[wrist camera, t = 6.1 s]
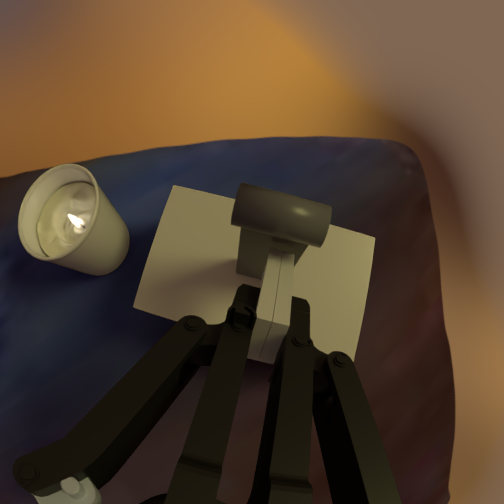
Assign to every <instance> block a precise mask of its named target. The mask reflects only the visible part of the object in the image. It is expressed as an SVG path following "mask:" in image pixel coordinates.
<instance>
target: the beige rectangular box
mask: <svg viewBox="0 0 504 504" xmlns="http://www.w3.org/2000/svg"><path fill="white" fill-rule="evenodd" d="M234 202H235V199H231V198H227V197H223V196H219V195H215V194H211V193H206V192H202V191H198V190H193V189H189V188H185V187H180V186H176V185H173V188H172V191H171V193H170V196H169V199H168V201H167V204H166V207H165V209H164V212H163V215H162V218H161V220H160V223H159V226H158V229H157V232H156V235H155V238H154V240H153V243H152V246H151V249H150V252H149V256H148V259H147V262H146V265H145V268H144V271H143V274H142V278H141V281H140V284H139V288H138V291H137V294H136V298H135V301H134V305H133V308H136V309H139V310H142V311H145V312H149V313H152V314H155V315H158V316H161V317H164V318H167V319H171V320H174V321H178V320H179V319H181V318H182V317H184V316H187V315H195V316H198V317H201V318H202V319H204V320H205V322H206V323H207V324H220V323H222V322H224V321H225V320H226V315H227V311H228V308H229V307H230V306H232V303H233V300H234V297H235V294H236V291H237V288H238V287H239V286H240V285H242V284H247V285H251V286H254V287H258V288H259V287H260V282H261V280H260V279H256V278H252V277H249V276H245V275H241V274H237V273H236V267H237V257H238V248H239V239H240V230H241V227H238V226H234V225H231V216H232V211H233V206H234ZM374 243H375V238H374V237H371V236H368V235H364V234H361V233H358V232H354V231H351V230H347V229H344V228H340V227H337V226H333V225H329V229H328V232H327V235H326V238H325V241H324V243H323V245H322V246H321V247H320V248H318V247H314V246H310V245H308V247H307V248H306V250H305V251H304V253H303V254H302V256H301V258H300V259H299V261H298V262H297V264H296V265H295V267H294V272H293V287H292V296H295V297H299V298H303V299H306V300H307V301H308V303H309V305H310V338H311V339H312V341H313V344H314V346H315V347H316V348H317V349H318V350H320V351H322V352H324V353H326V354H329V353H331V352H332V351H341V352H343V353H345V354H347V355H348V356H349V357H350V358H351V359H352V361H354V356H355V352H356V348H357V343H358V338H359V334H360V329H361V324H362V319H363V314H364V308H365V303H366V297H367V291H368V285H369V279H370V273H371V266H372V259H373V251H374Z"/></svg>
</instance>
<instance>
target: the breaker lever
mask: <svg viewBox="0 0 504 504" xmlns="http://www.w3.org/2000/svg"><path fill="white" fill-rule="evenodd" d="M331 211H332V210H331V206H328V205H325V204H321V203H318V202H314V201H311V200H307V199H304V198H300V197H296V196H293V195H289V194H285V193H281V192H277V191H274V190H270V189H266V188H262V187H258V186H254V185H250V184H246V183H241V184H240V186H239V189H238V192H237V195H236V199H235V202H234V206H233V211H232V216H231V225H234V226H238V227H241V230H240V239H239V248H238V257H237V267H236V273H237V274H241V275H245V276H249V277H252V278H256V279H260V280H261V279H262V276H263V272H264V269H265V265H266V262H267V258H268V255H269V251H270V248H273V249H277V250H280V251H282V252H283V251H284V252H288V253H291V254H295V257H294V267H295V265H296V264H297V262H298V261H299V259H300V258H301V256H302V254H303V253H304V251H305V250H306V248H307V247H308V245H310V246H314V247H318V248H320V247H321V246H322V245H323V243H324V241H325V238H326V235H327V232H328V229H329V225H330V220H331Z"/></svg>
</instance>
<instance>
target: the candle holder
mask: <svg viewBox="0 0 504 504" xmlns="http://www.w3.org/2000/svg"><path fill="white" fill-rule="evenodd" d="M18 232H19V237H20V240H21V243H22V245H23V247H24V248H25V250H26V251H27V252H28V253H29V254H30V255H32V256H33V257H35V258H37V259H39V260H43V261H48V262H51V263H54V264H57V265H60V266H63V267H66V268H69V269H72V270H76V271H79V272H82V273H86V274H89V275H94V276H101V275H106V274H109V273H111V272H112V271H114V270H115V269H117V268H118V267H119V266H120V265H121V263H122V262H123V261H124V259H125V257H126V255H127V253H128V250H129V244H130V236H129V231H128V228H127V226H126V224H125V222H124V221H123V219H122V218H121V216H120V215H119V214H118V212H117V211H116V209H115V208H114V207H113V205H112V204H111V202H110V201H109V200H108V198H107V197H106V195H105V194H104V193H103V191H102V190H101V188H100V187H99V185H98V184H97V182H96V180H95V178H94V177H93V175H92V174H91V173H90V172H89V171H88V170H87V169H86V168H84V167H82V166H80V165H77V164H62V165H59V166H56V167H53V168H51V169H50V170H48V171H46V172H45V173H44V174H42V175H41V176H40V177H39V178H38V179H37V180H36V181H35V182H34V183H33V184H32V186H31V187H30V188H29V190H28V192H27V193H26V195H25V197H24V199H23V202H22V204H21V207H20V211H19V217H18Z"/></svg>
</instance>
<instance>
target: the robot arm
mask: <svg viewBox="0 0 504 504" xmlns="http://www.w3.org/2000/svg"><path fill="white" fill-rule="evenodd" d="M294 257H295V254H291V253H288V252H284V251H283V252H282V251H280V250H277V249H273V248H270V251H269V255H268V258H267V262H266V265H265V269H264V272H263V276H262V279H261V282H260V287H259V288H258V287H254V286H251V285H247V284H242V285H240V286H239V287H238V288H237V291H236V294H235V297H234V300H233V303H232V306H230V307H229V308H228V311H227V315H226V320H225V321H224V322H222V323H220V324H207V323H206V322H205V320H204V319H202V318H201V317H198V316H195V315H187V316H184V317H182V318H181V319H179V320H178V321H177V322H176V323H175V325H174V326H173V327H172V328H171V329H170V330H169V331H168V332H167V333H166V334H165V335H164V336H163V337H162V338H161V339H160V340H159V341H158V342H157V343H156V344H155V345H154V346H153V347H152V348H151V349H150V350H149V351H148V352H147V353H146V354H145V355H144V356H143V357H142V358H141V359H140V360H139V361H138V362H137V363H136V364H135V365H134V366H133V367H132V368H131V369H130V371H129V372H128V373H127V374H126V375H125V376H124V377H123V378H122V379H121V380H120V381H119V382H118V383H117V384H116V385H115V386H114V387H113V388H112V389H111V390H110V391H109V392H108V393H107V394H106V395H105V396H104V397H103V398H102V399H101V400H100V401H99V402H98V403H97V404H96V405H95V406H94V407H93V409H92V410H91V411H90V412H89V413H88V414H87V415H86V416H85V417H84V418H83V419H82V420H81V421H80V422H79V423H78V424H77V425H76V426H75V427H74V428H73V429H72V430H71V431H70V432H69V433H68V434H67V435H66V436H65V437H64V438H63V439H61V440H59V441H56V442H54V443H52V444H49V445H47V446H45V447H43V448H40V449H38V450H36V451H33V452H31V453H28V454H26V455H23V456H21V457H20V458H18V459H17V460H16V461H15V463H14V465H13V475H14V478H15V480H16V481H17V483H18V484H19V485H20V486H21V487H22V488H24V489H25V490H27V491H28V492H30V493H31V494H32V495H34V497H35V498H36V500H37V501H38V503H39V504H101V495H100V493H99V491H98V490H99V489H100V488H101V487H103V486H104V485H105V484H106V483H108V482H109V481H110V480H111V479H112V478H113V477H114V475H115V474H116V473H117V472H118V471H119V470H120V468H121V467H122V466H123V465H124V463H125V462H126V461H127V460H128V459H129V457H130V456H131V455H132V454H133V452H134V451H135V450H136V449H137V447H138V446H139V445H140V444H141V442H142V441H143V440H144V439H145V437H146V436H147V435H148V434H149V432H150V431H151V430H152V429H153V427H154V426H155V425H156V423H157V422H158V421H159V420H160V418H161V417H162V416H163V415H164V413H165V412H166V411H167V409H168V408H169V407H170V406H171V404H172V403H173V402H174V400H175V399H176V398H177V397H178V395H179V394H180V393H181V391H182V390H183V389H184V387H185V386H186V385H187V384H188V382H189V381H190V380H191V378H192V377H193V376H194V374H195V373H196V372H197V370H198V369H199V368H200V366H210V369H209V372H208V375H207V378H206V381H205V384H204V387H203V390H202V393H201V396H200V399H199V402H198V406H197V409H196V412H195V415H194V418H193V421H192V424H191V427H190V430H189V433H188V436H187V439H186V442H185V445H184V448H183V451H182V454H181V457H180V458H179V460H178V463H177V466H176V468H175V471H174V475H173V478H172V481H171V484H170V487H169V490H168V493H166V494H161V495H157V496H154V497H151V498H149V499H147V500H145V501H144V502H142V503H140V504H225V503H223V502H221V501H219V500H217V499H216V495H217V490H218V486H219V482H220V478H221V473H222V464H223V460H224V456H225V452H226V447H227V443H228V439H229V435H230V430H231V426H232V422H233V417H234V413H235V409H236V404H237V400H238V396H239V391H240V387H241V382H242V378H243V373H244V369H245V364H246V360H247V358H249V359H253V360H257V361H261V362H265V363H269V364H274V362H275V367H274V369H273V371H272V373H271V376H270V378H269V380H268V382H270V388H269V394H268V401H267V407H266V413H265V419H264V425H263V431H262V437H261V443H260V448H259V454H258V460H257V465H256V470H255V476H254V481H253V486H252V491H251V495H250V497H249V500H248V502H247V504H312V496H313V489H312V485H311V484H310V483H309V482H308V472H309V458H310V443H311V425H312V413H313V417H314V422H315V426H316V430H317V435H318V439H319V443H320V448H321V452H322V457H323V461H324V466H325V470H326V475H327V479H328V484H329V488H330V493H331V498H332V502H333V504H401V500H400V497H399V493H398V490H397V487H396V484H395V480H394V477H393V474H392V471H391V468H390V465H389V462H388V458H387V455H386V452H385V449H384V446H383V443H382V440H381V438H380V435H379V432H378V429H377V426H376V423H375V420H374V417H373V415H372V412H371V409H370V406H369V403H368V401H367V398H366V395H365V393H364V390H363V387H362V384H361V382H360V379H359V376H358V374H357V371H356V369H355V366H354V363H353V361H352V359H351V358H350V357H349V356H348V355H347V354H345V353H343V352H341V351H332V352H331V353H329V354H326V353H324V352H322V351H320V350H318V349H317V348H316V347H315V346H314V344H313V341H312V339H311V338H310V305H309V303H308V301H307V300H306V299H303V298H299V297H295V296H292V287H293V272H294ZM258 359H259V360H258ZM275 359H276V360H275Z"/></svg>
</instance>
